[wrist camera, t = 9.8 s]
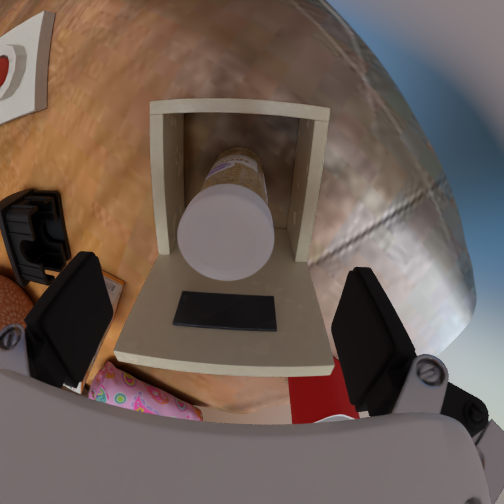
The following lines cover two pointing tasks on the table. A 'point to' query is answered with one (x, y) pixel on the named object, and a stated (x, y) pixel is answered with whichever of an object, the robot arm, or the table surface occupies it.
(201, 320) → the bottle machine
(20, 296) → the planter
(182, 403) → the pencil case
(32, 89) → the button block
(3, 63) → the release button
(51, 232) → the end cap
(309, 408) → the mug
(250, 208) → the sprinkles bottle
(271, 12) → the table surface
